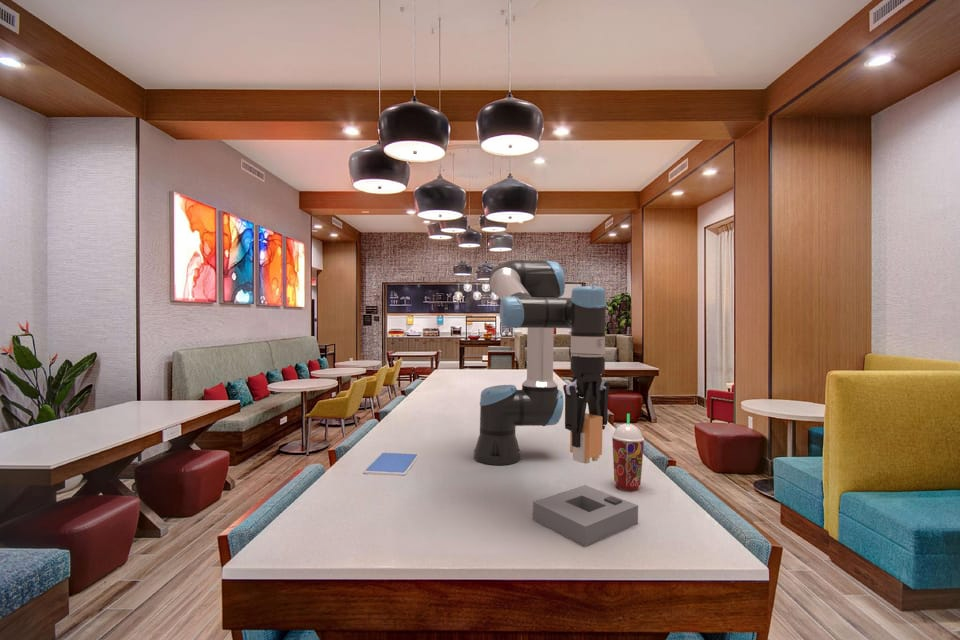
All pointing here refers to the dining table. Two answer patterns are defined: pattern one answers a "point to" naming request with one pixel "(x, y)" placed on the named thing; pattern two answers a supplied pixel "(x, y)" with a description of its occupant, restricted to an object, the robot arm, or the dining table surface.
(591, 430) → the plug
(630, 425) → the smoothie
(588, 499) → the socket box
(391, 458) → the tablet computer
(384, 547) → the dining table surface
